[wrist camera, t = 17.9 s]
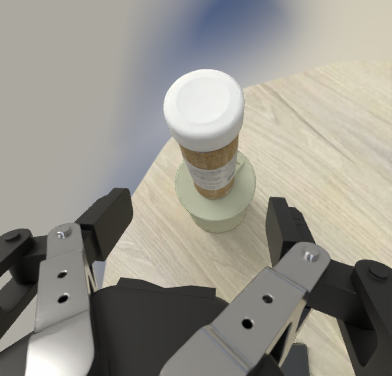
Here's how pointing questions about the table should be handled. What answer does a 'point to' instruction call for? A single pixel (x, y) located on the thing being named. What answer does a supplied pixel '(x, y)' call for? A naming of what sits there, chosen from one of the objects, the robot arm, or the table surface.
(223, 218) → the can
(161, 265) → the table surface
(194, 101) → the sprinkles bottle
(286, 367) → the slate coaster
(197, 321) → the robot arm
